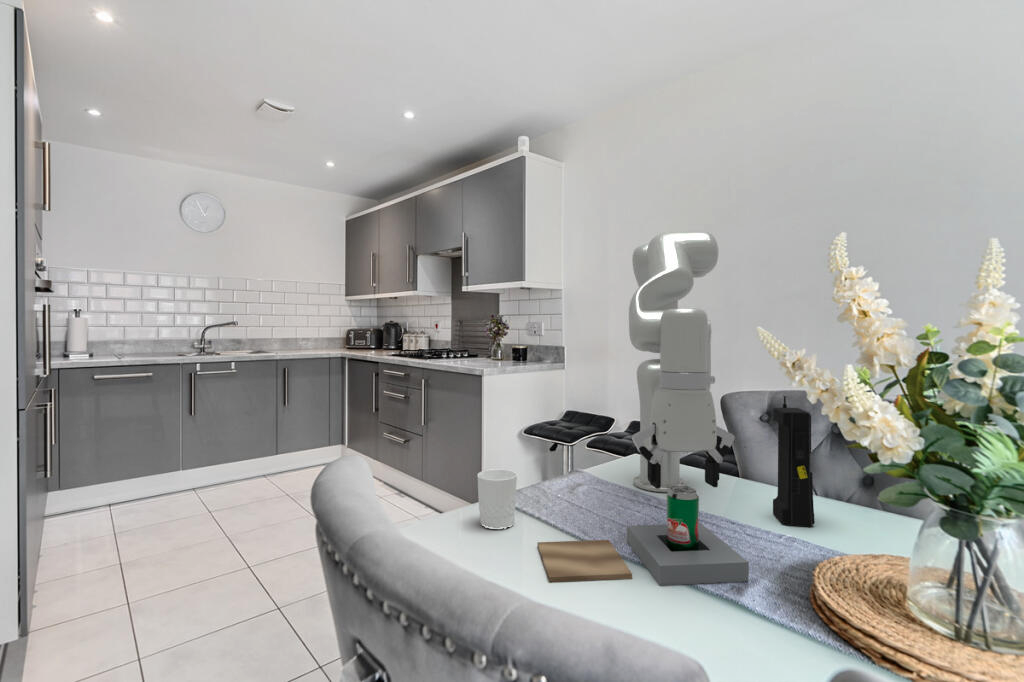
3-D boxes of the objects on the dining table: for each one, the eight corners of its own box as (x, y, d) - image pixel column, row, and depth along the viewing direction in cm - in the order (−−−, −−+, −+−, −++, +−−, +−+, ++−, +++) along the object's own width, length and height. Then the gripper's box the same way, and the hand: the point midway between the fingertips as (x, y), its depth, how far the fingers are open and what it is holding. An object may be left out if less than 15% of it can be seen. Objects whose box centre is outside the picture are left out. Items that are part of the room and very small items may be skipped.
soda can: (660, 559, 86) (661, 488, 85) (677, 551, 89) (677, 482, 89) (688, 570, 82) (688, 496, 82) (704, 560, 85) (704, 489, 85)
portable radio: (818, 530, 99) (819, 401, 98) (784, 527, 100) (785, 400, 99) (803, 515, 106) (804, 396, 106) (772, 513, 107) (773, 395, 107)
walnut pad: (537, 546, 91) (537, 542, 91) (608, 544, 92) (608, 539, 92) (549, 582, 78) (549, 577, 78) (632, 578, 79) (632, 573, 79)
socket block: (626, 542, 93) (626, 525, 93) (700, 539, 94) (700, 523, 94) (660, 585, 77) (660, 565, 77) (748, 581, 78) (748, 562, 78)
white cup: (469, 523, 102) (469, 473, 102) (500, 514, 107) (500, 467, 107) (493, 535, 96) (493, 482, 96) (525, 525, 101) (525, 475, 101)
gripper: (722, 381, 89) (721, 478, 89) (625, 381, 88) (625, 480, 88) (745, 384, 82) (745, 491, 82) (640, 384, 80) (640, 493, 80)
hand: (683, 485), depth 85 cm, fingers open, 9 cm apart
